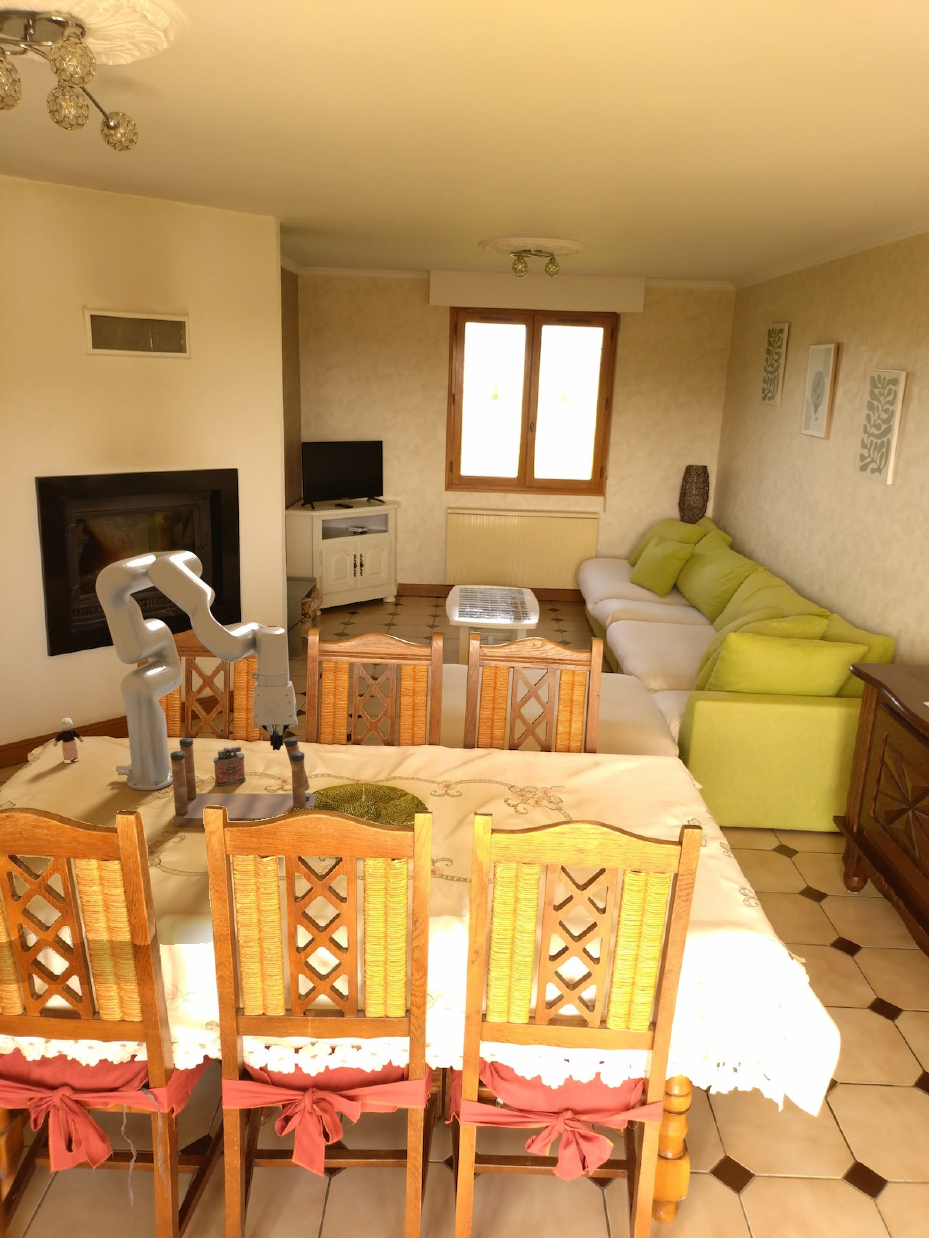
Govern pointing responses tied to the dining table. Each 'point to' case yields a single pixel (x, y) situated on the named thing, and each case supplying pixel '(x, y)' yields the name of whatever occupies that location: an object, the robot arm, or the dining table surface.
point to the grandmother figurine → (68, 740)
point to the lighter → (229, 767)
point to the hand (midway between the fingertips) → (277, 748)
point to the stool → (236, 803)
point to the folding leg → (293, 747)
